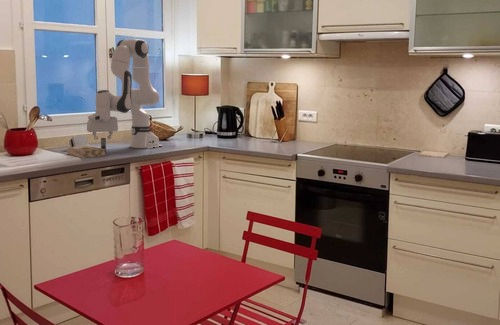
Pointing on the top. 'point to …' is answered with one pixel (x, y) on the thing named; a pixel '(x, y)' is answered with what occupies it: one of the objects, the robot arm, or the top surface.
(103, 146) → the peg
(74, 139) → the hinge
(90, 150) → the hole block
